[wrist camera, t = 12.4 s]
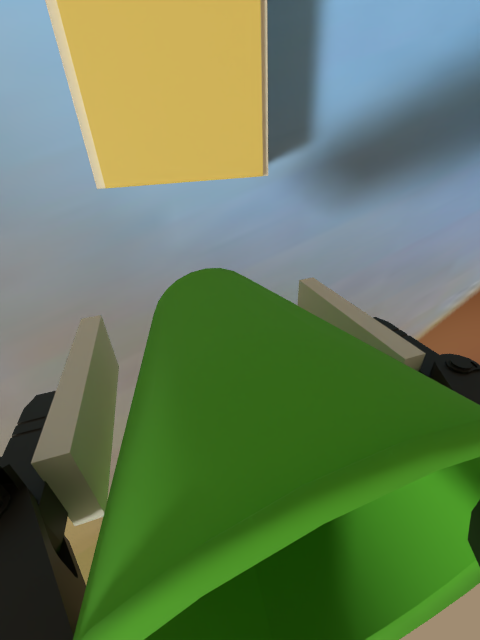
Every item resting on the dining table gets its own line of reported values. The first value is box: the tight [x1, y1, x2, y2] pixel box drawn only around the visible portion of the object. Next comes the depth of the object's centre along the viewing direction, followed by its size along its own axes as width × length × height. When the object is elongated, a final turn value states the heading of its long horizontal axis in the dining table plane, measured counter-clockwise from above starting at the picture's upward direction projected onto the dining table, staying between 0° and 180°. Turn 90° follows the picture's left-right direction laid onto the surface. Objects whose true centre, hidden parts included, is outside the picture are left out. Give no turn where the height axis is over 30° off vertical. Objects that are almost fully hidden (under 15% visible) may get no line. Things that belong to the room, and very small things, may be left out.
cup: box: [73, 268, 480, 640], centre depth 9 cm, size 9×9×11 cm
